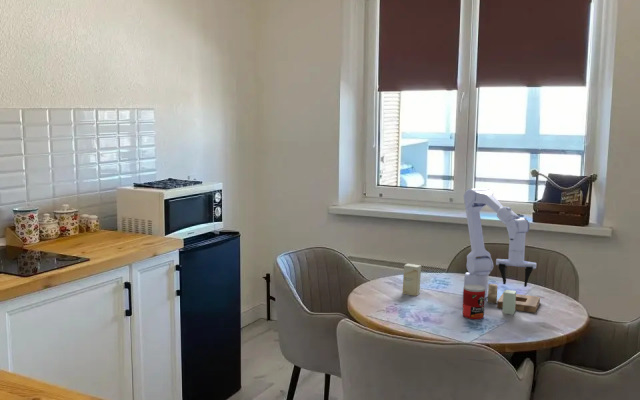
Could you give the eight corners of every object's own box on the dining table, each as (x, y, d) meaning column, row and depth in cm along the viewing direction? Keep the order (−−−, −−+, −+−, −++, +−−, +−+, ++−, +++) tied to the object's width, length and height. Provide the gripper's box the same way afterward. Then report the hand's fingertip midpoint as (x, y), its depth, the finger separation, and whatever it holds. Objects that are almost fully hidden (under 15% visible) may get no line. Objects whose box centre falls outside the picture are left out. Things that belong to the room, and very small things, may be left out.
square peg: (502, 313, 229) (503, 292, 228) (504, 310, 232) (505, 289, 231) (513, 314, 227) (514, 293, 226) (515, 311, 231) (516, 291, 230)
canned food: (472, 320, 219) (473, 291, 218) (457, 314, 227) (458, 285, 225) (488, 317, 223) (490, 288, 222) (473, 311, 230) (474, 283, 229)
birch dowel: (486, 302, 241) (487, 285, 240) (488, 300, 244) (489, 283, 244) (495, 304, 240) (496, 286, 239) (497, 301, 243) (498, 284, 242)
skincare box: (402, 293, 252) (403, 265, 250) (406, 291, 256) (407, 263, 254) (416, 296, 249) (417, 267, 247) (420, 293, 253) (421, 265, 251)
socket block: (497, 307, 236) (497, 301, 235) (503, 297, 248) (503, 292, 248) (535, 312, 229) (535, 306, 229) (539, 302, 242) (540, 297, 242)
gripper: (495, 250, 230) (493, 285, 232) (535, 253, 224) (533, 289, 226) (498, 246, 236) (496, 280, 238) (537, 250, 230) (535, 285, 232)
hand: (514, 284), depth 232 cm, fingers open, 7 cm apart
